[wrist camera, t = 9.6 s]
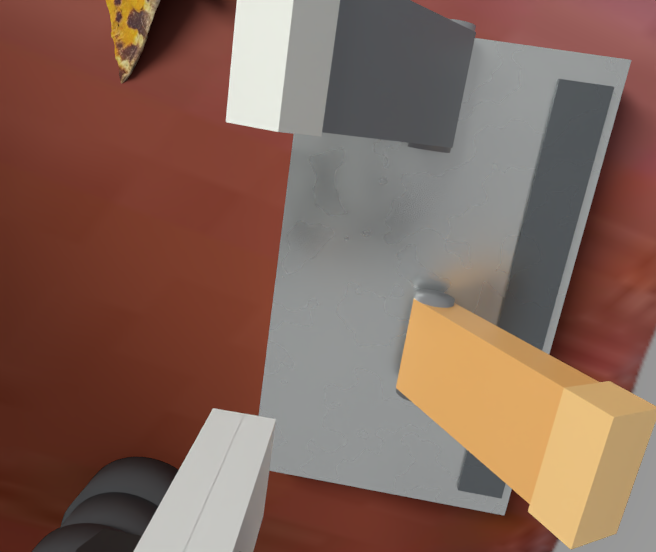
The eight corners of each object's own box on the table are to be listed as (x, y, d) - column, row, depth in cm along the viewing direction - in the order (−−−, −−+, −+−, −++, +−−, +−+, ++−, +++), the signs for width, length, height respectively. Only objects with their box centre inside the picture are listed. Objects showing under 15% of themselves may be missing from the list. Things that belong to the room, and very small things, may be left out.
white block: (417, 147, 22) (225, 125, 15) (439, 28, 21) (242, -60, 13) (462, 154, 21) (277, 136, 13) (488, 29, 20) (301, -67, 12)
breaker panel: (263, 438, 29) (251, 469, 26) (316, 26, 23) (307, 13, 21) (494, 482, 28) (505, 518, 25) (605, 67, 23) (633, 59, 20)
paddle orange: (384, 386, 24) (570, 552, 15) (403, 289, 22) (614, 413, 14) (422, 382, 24) (615, 536, 16) (442, 289, 23) (661, 404, 15)
